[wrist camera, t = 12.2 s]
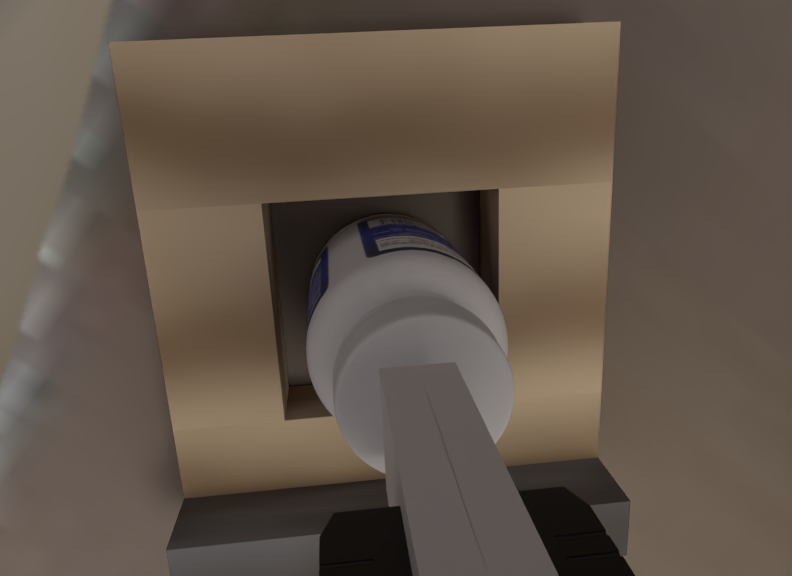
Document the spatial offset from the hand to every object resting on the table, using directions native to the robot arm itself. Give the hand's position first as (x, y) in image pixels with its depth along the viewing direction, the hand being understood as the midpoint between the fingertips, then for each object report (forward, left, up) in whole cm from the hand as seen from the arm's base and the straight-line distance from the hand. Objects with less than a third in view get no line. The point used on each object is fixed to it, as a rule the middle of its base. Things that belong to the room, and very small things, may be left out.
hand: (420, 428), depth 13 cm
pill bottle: (0, 0, -10) cm, 10 cm away
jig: (0, 0, -10) cm, 10 cm away
